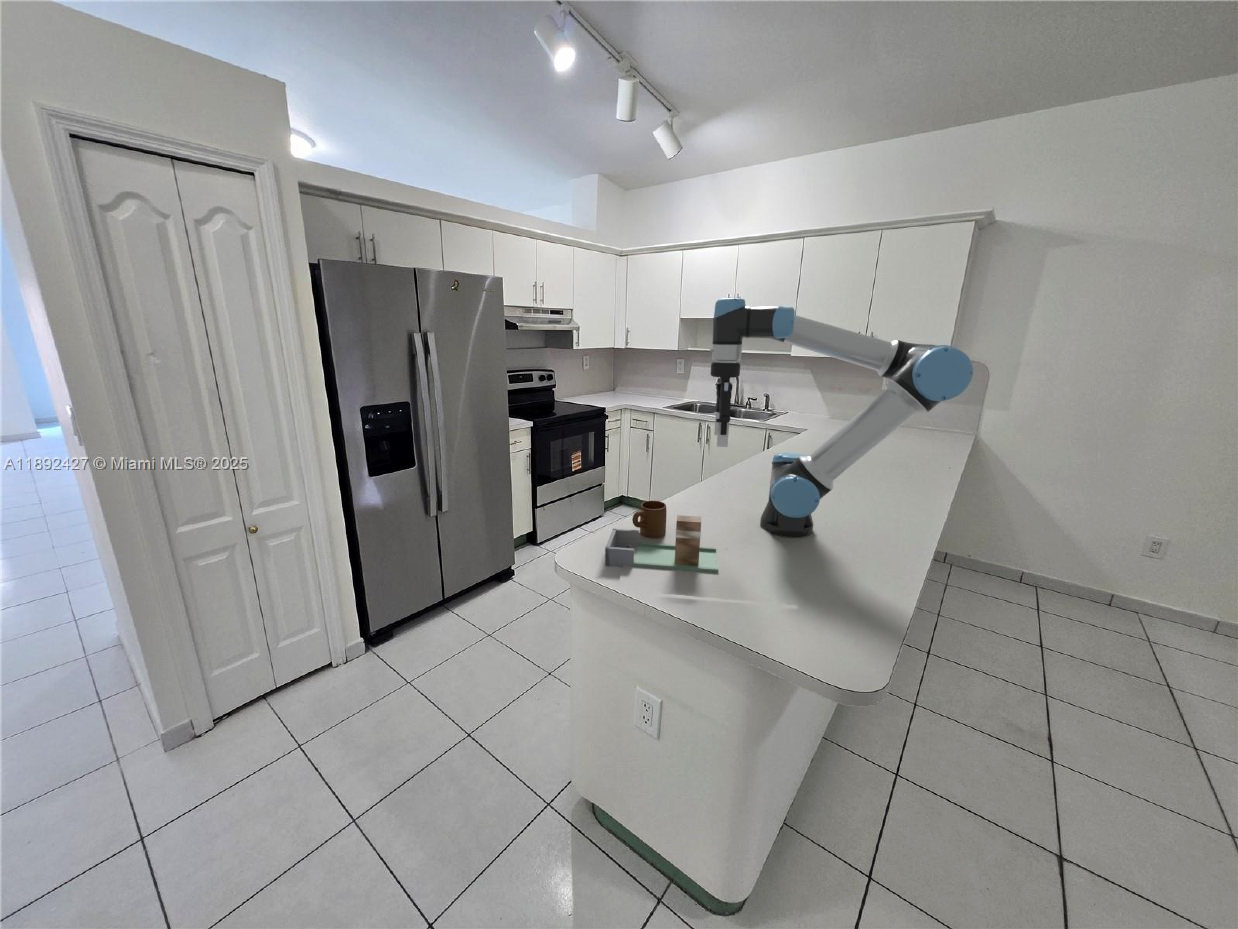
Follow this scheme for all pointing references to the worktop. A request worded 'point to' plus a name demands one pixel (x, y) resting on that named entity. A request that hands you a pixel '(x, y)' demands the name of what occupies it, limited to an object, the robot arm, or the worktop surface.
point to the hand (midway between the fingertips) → (720, 440)
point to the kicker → (687, 540)
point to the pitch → (652, 553)
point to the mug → (651, 519)
